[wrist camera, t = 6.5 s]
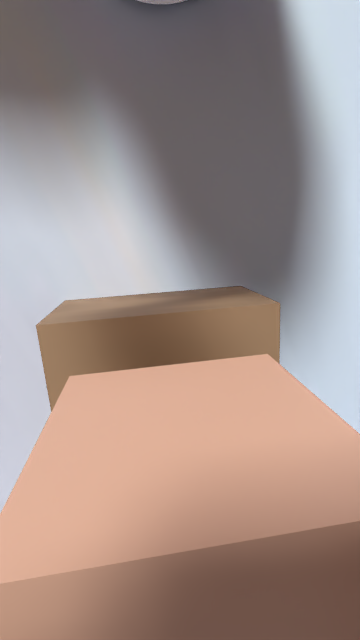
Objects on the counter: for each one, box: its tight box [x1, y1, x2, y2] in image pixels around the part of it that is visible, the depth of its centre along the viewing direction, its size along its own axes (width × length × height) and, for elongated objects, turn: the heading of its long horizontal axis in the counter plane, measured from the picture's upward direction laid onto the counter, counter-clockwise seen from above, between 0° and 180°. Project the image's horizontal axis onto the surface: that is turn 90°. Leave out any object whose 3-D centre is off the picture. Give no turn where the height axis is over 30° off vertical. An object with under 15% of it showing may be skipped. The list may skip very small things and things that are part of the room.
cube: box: [0, 354, 360, 640], centre depth 6 cm, size 5×5×5 cm
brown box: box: [36, 286, 280, 412], centre depth 12 cm, size 7×7×4 cm
